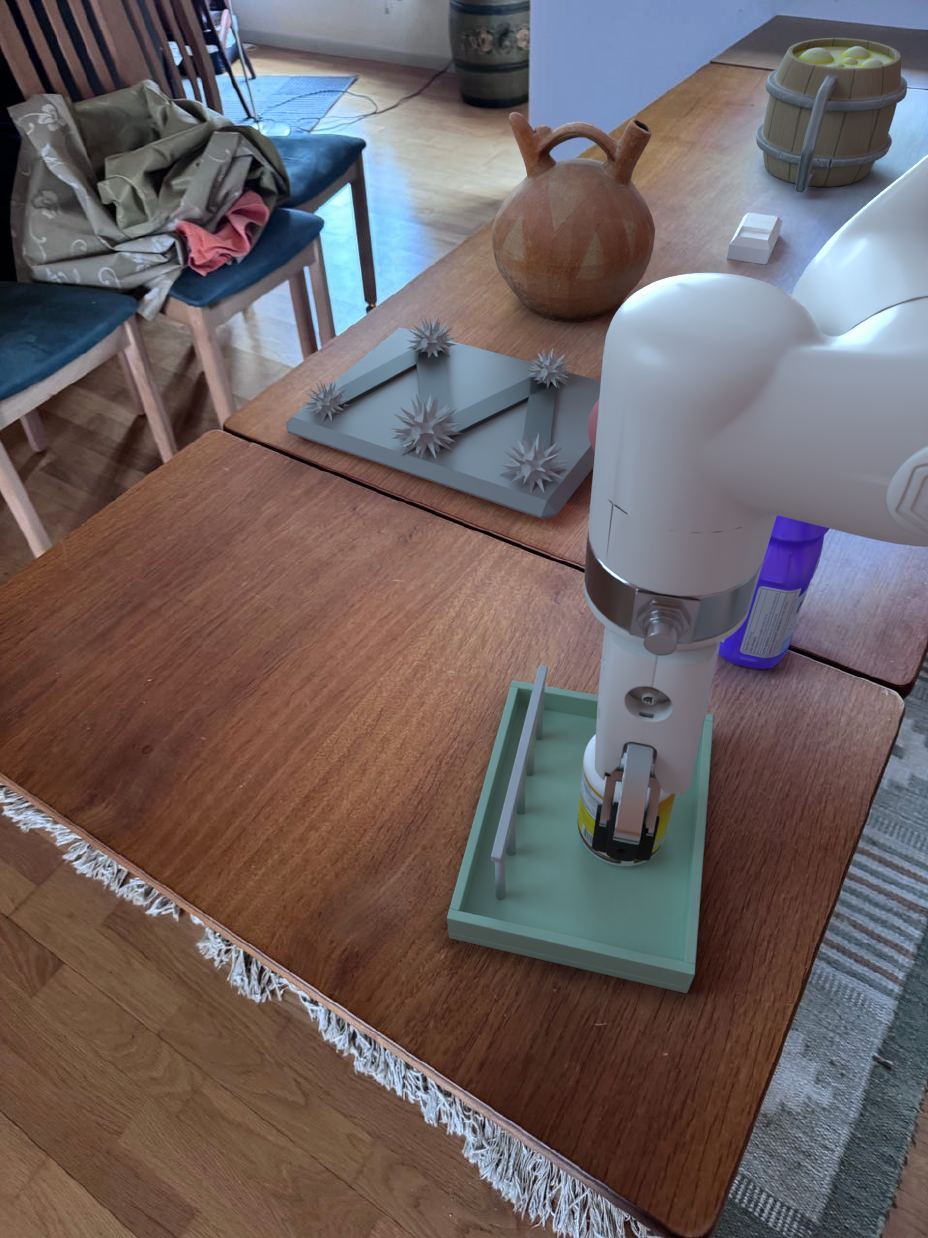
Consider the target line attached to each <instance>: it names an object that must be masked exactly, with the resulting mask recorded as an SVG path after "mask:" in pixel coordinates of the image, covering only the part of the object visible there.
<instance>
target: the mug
mask: <svg viewBox="0 0 928 1238" xmlns="http://www.w3.org/2000/svg"><path fill="white" fill-rule="evenodd" d="M764 86H765V90H766V91H767V94H769V96H768V100H767V105H766V108H765V114H764V120H763V123H762V124H760V125H759V126H758V127H757V130H756V132H755V143H756V145H757V147H758V148H759V149H760V150H761V151H762V156H763V165H764V168H765V170H766V172H768V173H769V175H772V176H774V177H775V178H776V179H779V180H782V181H784V182H788V183H791V184H795V192H798V193H803V192H806V191H807V190H808V187H822V188H823V187H824V188H825V187H826V188H827V187H841V186H846V185H851V184H855V183H857V182H859V181H861V180H863V179H864V178H866V176H867V175H868V174H869V172H870V170H871V169H872V167H873V166H874V164H875V162H876V161H878V160H881V159H882V158H884V157H885V156H886V155H887V153H888V152H889V151H890V148H891V146H892V145H893V139H892V137H891V135H890V133H889V132H890V130H891V127H892V123H893V121H894V116H895V113H896V110H897V106H898V104H899V103H900V102H902V101H903V100H905V98H906V96H907V93H908V82H907V80H906V79H905V78H904V76H902V55H901V53H900V52H899V51H898V50H897V49H895V48H894V47H892V46H890V45H888V44H887V45H886V44H885V43H881V42H877V41H872V40H869V39H868V40H867V39H860V38H848V37H825V38H813V39H808V40H802V41H800V42H796V43H795V44H792V45H790V46H789V48H787V50H786V53H785V54H784V56H783V58H782V60H781V63H780V65H779V66H778V68H775V69H774V70H773V71H771V72H770V73H769V74H768V76H767V80H766V82H765V85H764Z"/></svg>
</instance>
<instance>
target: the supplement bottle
mask: <svg viewBox="0 0 928 1238" xmlns="http://www.w3.org/2000/svg"><path fill="white" fill-rule="evenodd" d="M595 744H596V734H595V735H594V736H593V737H592V739H591V740H590V741H589V743H588V745H587V747H586V750H585V754H584V759H583V768H582V781H581V791H580V801H579V811H578V830H579V834H580V837H581V839H582V841H583V843H584V845H585V846H586V848H587V849H588V850H589V851H590V852H591V853H592V854H593V855H594V856H596V857H597V858H598V859H600V860H602V861H604V862H606V863H609V864H612V865H616V866H634V865H638V864H641V863H644V862H646V861H643V860H638V859H635V860H634V861H631V862H626V861H620V860H616V859H613V858H610V857H609V856H608V855H607V854H606V853H604V852H599V851H596V850H594V849H593V848H592V841H593V833H594V826H595V819H596V812H597V806H598V804H599V805H601V804H603V797H604V791H605V784H606V778H607V777H606V776H605V779H604V780H603V779H602V778H601V777H600V776H599V775H598V774H597V772H596V770H595ZM625 759H626V753H624V756H623V758H622V760H621V765H625ZM652 760H653V758H652ZM653 768H654V764H652V763H651V770H652V771H653ZM621 785H622V782H617V781H616V786H615V793H614V799H613V805H614V802H619V798H620V791H621ZM649 789H650V788H649V787H648V790H647V797H646V804H645V811H646V807H647V801H648V795H649ZM675 795H676V794H670V793H665V792H664V791H663V790H662V788H661V792H660V798H659V804H658V810H657V816H660V818H659V826H658V830H657V834H656V838H655V842H654V846H653V850H652V855H651V858H652V857H653V856H654V855H655V854H656V853H657V852H658V851H659V849H660V848H661V846H662V844H663V842H664V839H665V835H666V831H667V827H668V823H669V819H670V815H671V811H672V807H673V803H674V799H675Z"/></svg>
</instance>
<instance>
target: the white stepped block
mask: <svg viewBox="0 0 928 1238" xmlns="http://www.w3.org/2000/svg"><path fill="white" fill-rule="evenodd" d="M782 225H783V220H782V219H781V218H780V216H777V215H770V214H762V213H756V212H747V213H746V214H745V215H744V216H743V217H742V219H741V221H740V223H739V225H738V227H737V228H736V231H735V232H734V235H733V237H732V238H731V240H730V243H729V245H728V250H727V256H726V260H730V261H731V260H732V261H739V262H745V263H751V264H758V265H765V266H766V265H768V262H769V260H770V257H771V255H772V253H773V251H774V248H775V247H776V244H777V241H778V239H779V237H780V234H781V230H782Z"/></svg>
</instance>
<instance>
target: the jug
mask: <svg viewBox="0 0 928 1238" xmlns="http://www.w3.org/2000/svg"><path fill="white" fill-rule="evenodd" d="M508 122H509V125H510V127H511V131H512V133H513V136H514V139H515V142H516V145H517V146H518V149H519V152H520V155H521V157H522V161H523V163H524V167H525V172H526V176H525V177H524V178H523V180H521V181H520V182H519V183H518V184H517V185H516V186H515V187H514V188H513V189H512V190H511V191H510V192H509V193H508V194H507V195H506V197H505V199H504V201H503V202H502V204H501V206H500V207H499V209H498V211H497V212H496V215H495V217H494V219H493V223H492V226H491V244H492V250H493V257H494V261H495V264H496V267H497V271H498V272H499V273H500V275H501V276H502V278H503V280H504V282H505V283H506V284H507V286H508V288H510V290H511V291H512V292H513V294H514V295H515V296H516V297H517V298H518V299H519V300H520V301H521V302H522V304H523V305H524V306H525V307H526V308H527V309H529V311H531V312H532V313H534V314H536V315H538V316H541V317H542V318H545V319H549V320H553V321H557V322H558V321H559V322H566V323H570V322H584V321H586V322H587V321H590V320H594V319H598V318H600V317H604V316H606V315H607V314H609V313H610V312H612V311H613V310H614V309H615V308H617V306H618V305H620V304H621V302H623V301H624V300H625V299H626V298H627V297H628V295H630V293H632V292H633V290H634V289H635V288H636V287H637V286H638V284H639V282H640V281H641V279H642V278H643V277H644V275H645V273H646V271H647V269H648V267H649V264H650V261H651V259H652V254H653V251H654V245H655V244H654V243H655V236H656V226H655V223H654V219H653V215H652V213H651V211H650V208H649V206H648V204H647V201H646V198H644V196H643V195H642V194H641V192H640V191H639V189H638V187H637V186H636V184H635V183H634V182H633V181H632V178H633V174H634V170H635V167H636V166H637V163H638V162H639V160H640V158H641V156H642V154H643V153H644V151H645V149H646V147H647V145H648V143H649V141H650V140H651V138H652V131H651V128H650V126H649V125H648V124H646V123H645V122H643V121H641V120H639V119H637V118H631V119H630V121H629V122H628V123H627V126H626V127H625V129H624V131H623V133H622V135H621V137H620V138H619V140H615V139H614V138H612V137H611V136H610V135H609V134H608V133H607V132H605V131H604V130H603V129H602V128H600V127H598V126H596V125H594V124H592V123H589V122H585V121H577V120H576V121H572V122H567V123H565V124H562V125H560V126H558V127H556V128H555V129H553V128H552V127H550V126H548V125H546V124H540V125H537V126H536V127H535V129H533V127H532V126H531V124H530V123H529V122H528V121H527V120H526V118H525V117H524V115H523V114H522V113H520V112H517V111H514V112H511V113H509V116H508ZM577 138H578V139H579V138H583V139H587V140H589V141H591V142H593V143H594V144H595V145H597V146H598V147H599V148H600V149H601V150H602V151H603V153H604V154H605V155H606V160H605V161H601V160H597V159H594V158H587V157H586V158H585V157H578V158H577V157H576V158H568V159H563V160H555V159H554V158H553V157H552V155H551V151H552V150H553V149H554V148H555V147H557V146H558V145H561V144H563V143H564V142H567V141H569V140H572V139H577Z"/></svg>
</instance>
